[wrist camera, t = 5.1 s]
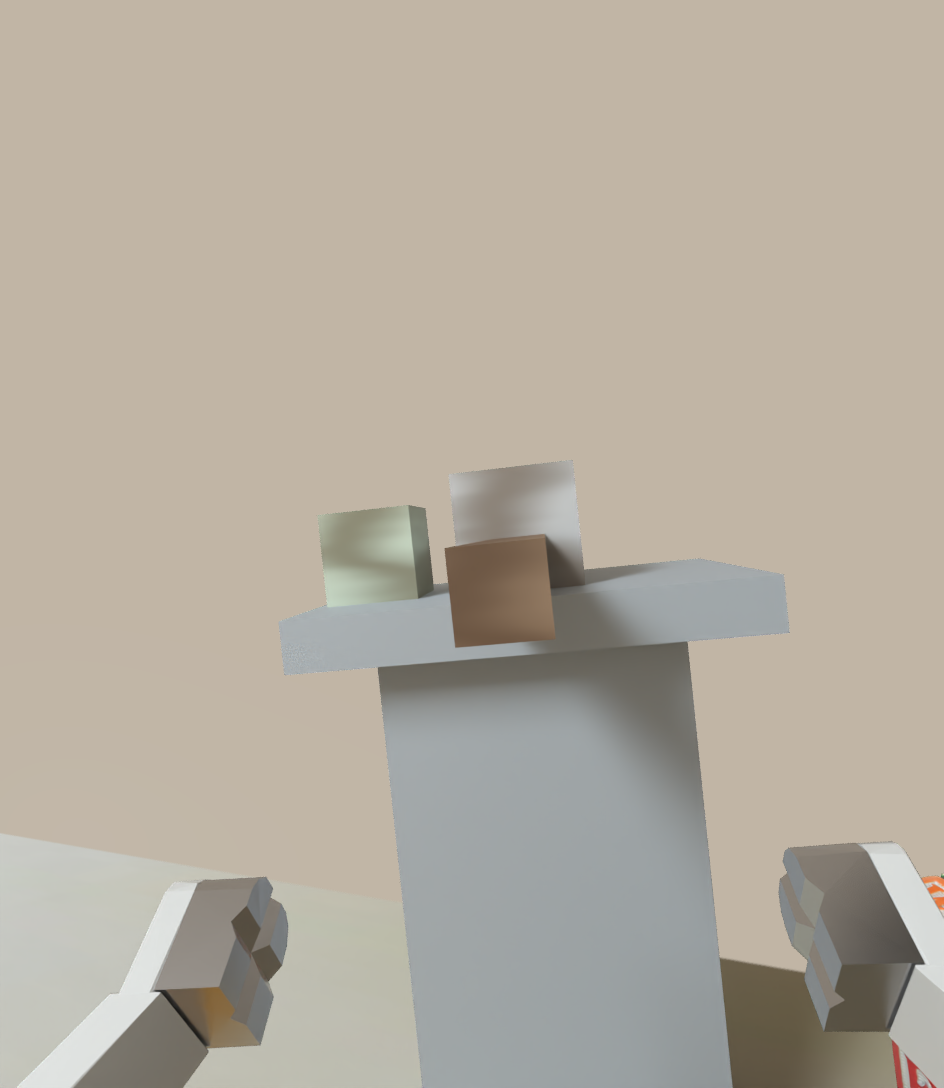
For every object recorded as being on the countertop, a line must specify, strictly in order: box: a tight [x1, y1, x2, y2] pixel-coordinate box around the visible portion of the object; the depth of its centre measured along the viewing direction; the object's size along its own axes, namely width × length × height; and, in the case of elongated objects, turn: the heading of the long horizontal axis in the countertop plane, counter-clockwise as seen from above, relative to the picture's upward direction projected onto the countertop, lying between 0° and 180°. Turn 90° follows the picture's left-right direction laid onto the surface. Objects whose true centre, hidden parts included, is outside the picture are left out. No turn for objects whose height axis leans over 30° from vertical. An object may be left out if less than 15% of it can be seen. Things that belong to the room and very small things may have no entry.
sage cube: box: [318, 505, 434, 607], centre depth 30 cm, size 4×4×4 cm
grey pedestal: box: [279, 559, 790, 1088], centre depth 29 cm, size 18×12×26 cm, turn 84°
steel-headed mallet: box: [445, 460, 585, 648], centre depth 24 cm, size 5×20×5 cm, turn 174°
